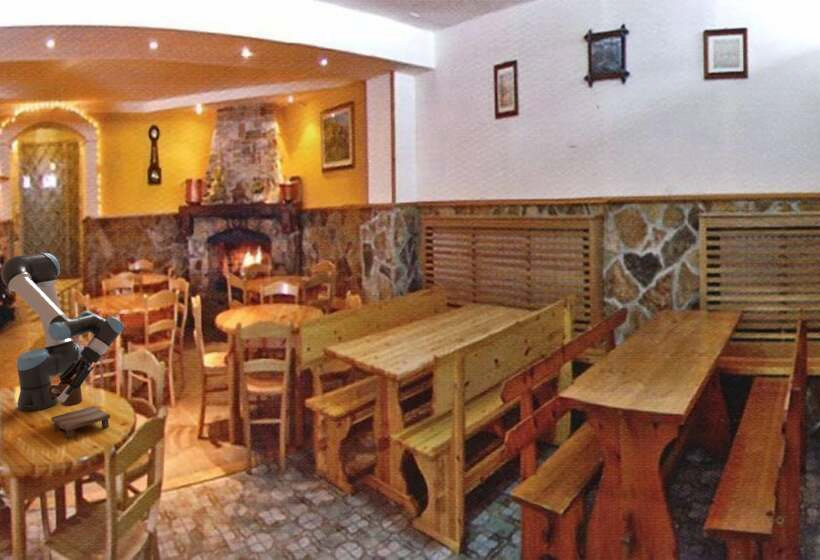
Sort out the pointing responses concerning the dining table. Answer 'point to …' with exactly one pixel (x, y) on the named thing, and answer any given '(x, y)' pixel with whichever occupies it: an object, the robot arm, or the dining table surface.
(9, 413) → the dining table surface
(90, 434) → the dining table surface
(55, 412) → the dining table surface
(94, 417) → the brown wooden bench
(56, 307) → the robot arm
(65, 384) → the mug
